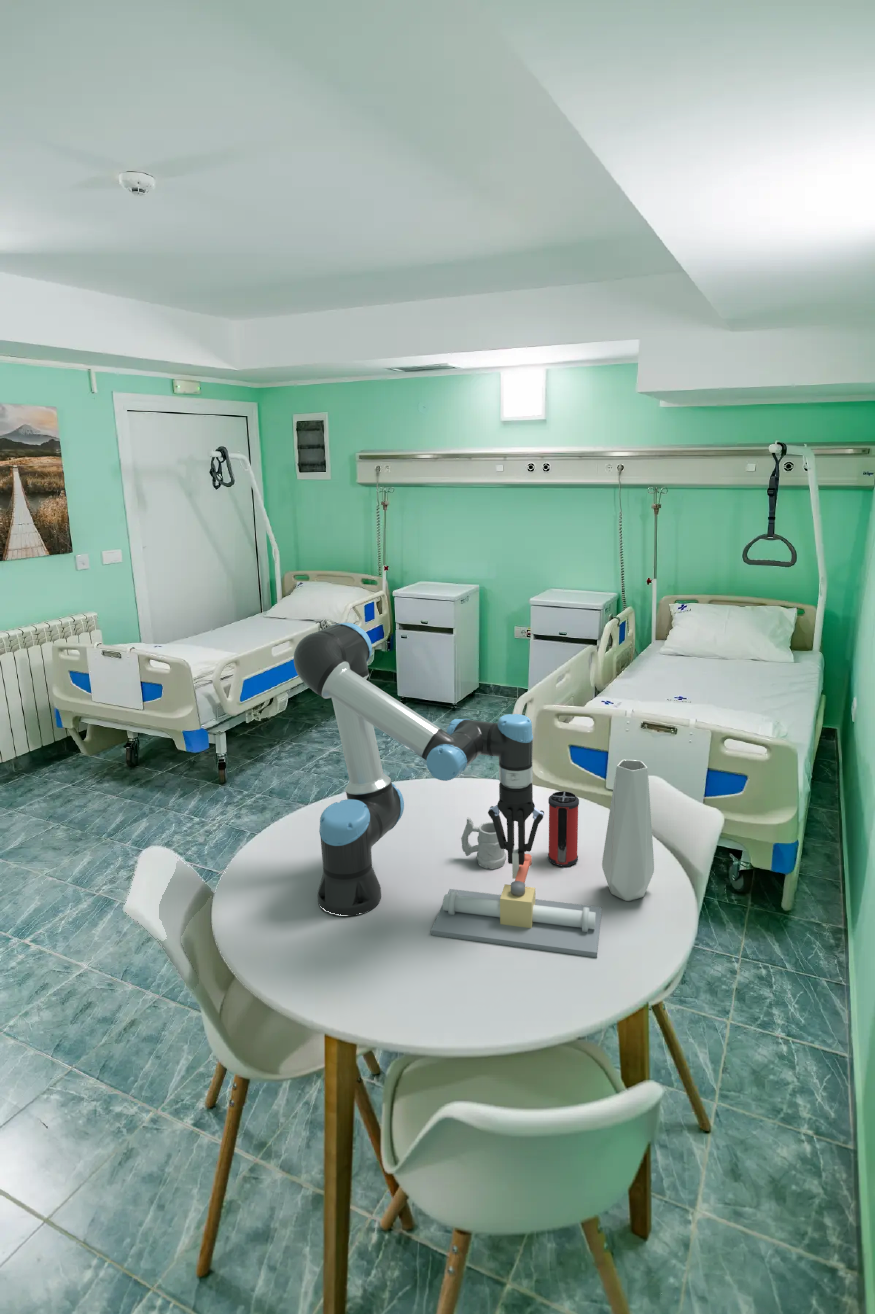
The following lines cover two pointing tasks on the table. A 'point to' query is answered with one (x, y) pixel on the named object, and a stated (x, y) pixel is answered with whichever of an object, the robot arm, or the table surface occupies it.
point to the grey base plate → (519, 921)
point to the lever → (521, 877)
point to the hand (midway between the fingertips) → (516, 875)
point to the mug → (484, 845)
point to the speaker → (563, 828)
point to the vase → (629, 833)
